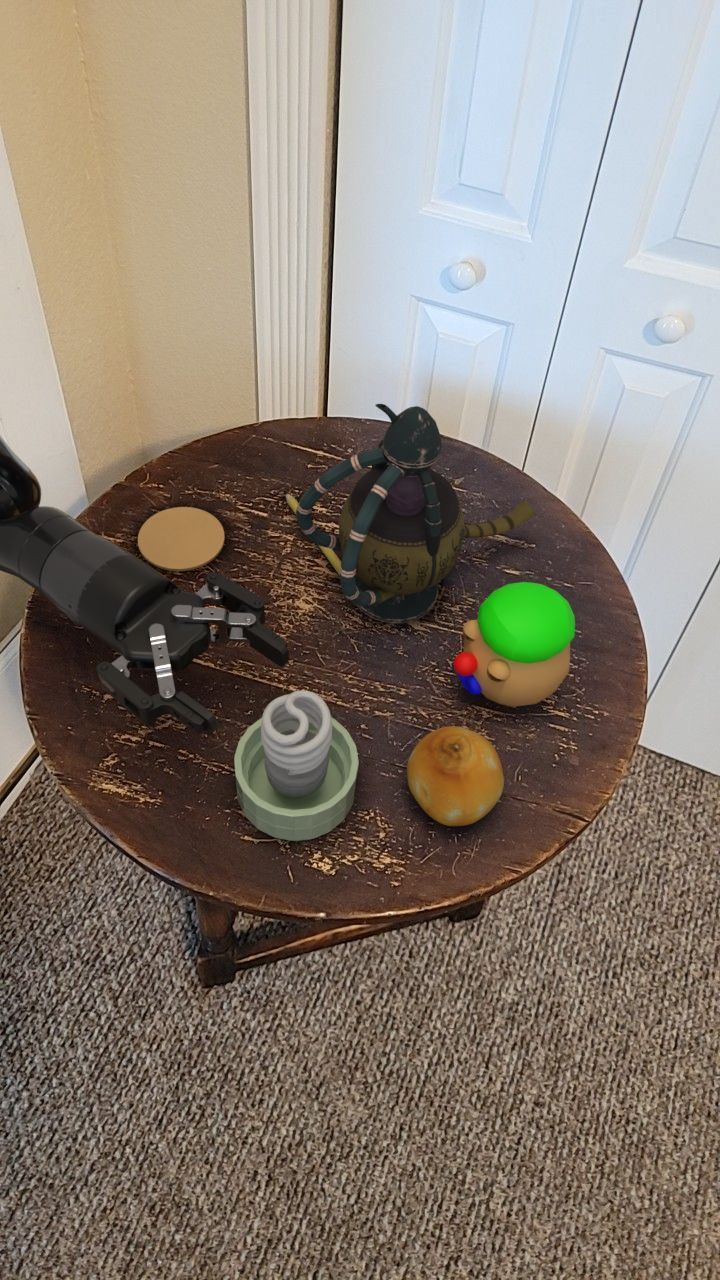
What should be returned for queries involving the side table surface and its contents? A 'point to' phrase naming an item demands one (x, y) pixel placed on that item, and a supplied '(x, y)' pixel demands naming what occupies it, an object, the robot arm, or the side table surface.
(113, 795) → the side table surface
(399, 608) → the teapot
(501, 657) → the figurine
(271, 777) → the light bulb
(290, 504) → the pencil
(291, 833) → the bowl
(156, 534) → the coaster
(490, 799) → the fruit
